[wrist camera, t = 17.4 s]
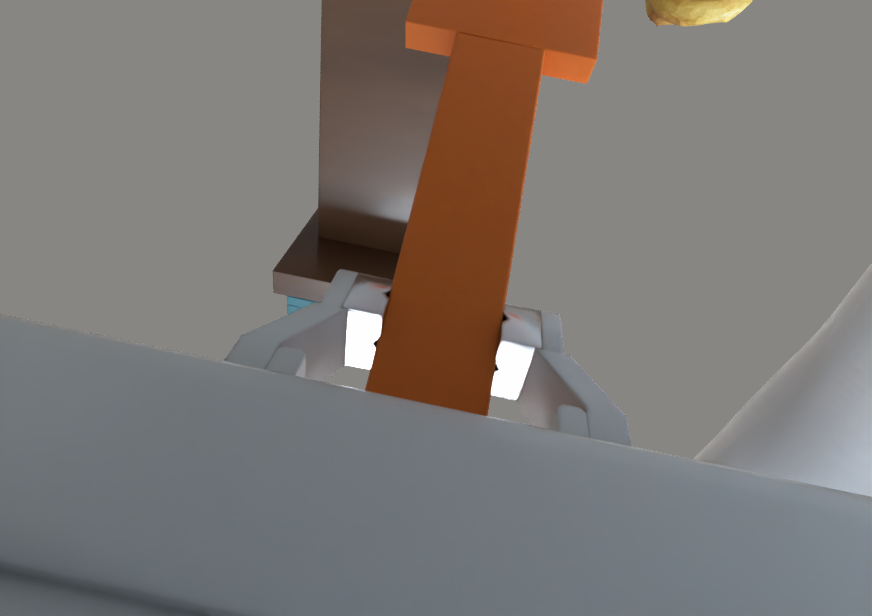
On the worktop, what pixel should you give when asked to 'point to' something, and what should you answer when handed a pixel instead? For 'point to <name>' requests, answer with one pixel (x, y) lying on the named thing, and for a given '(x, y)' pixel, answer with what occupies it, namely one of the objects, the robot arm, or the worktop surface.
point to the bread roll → (693, 11)
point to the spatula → (472, 189)
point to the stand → (364, 145)
